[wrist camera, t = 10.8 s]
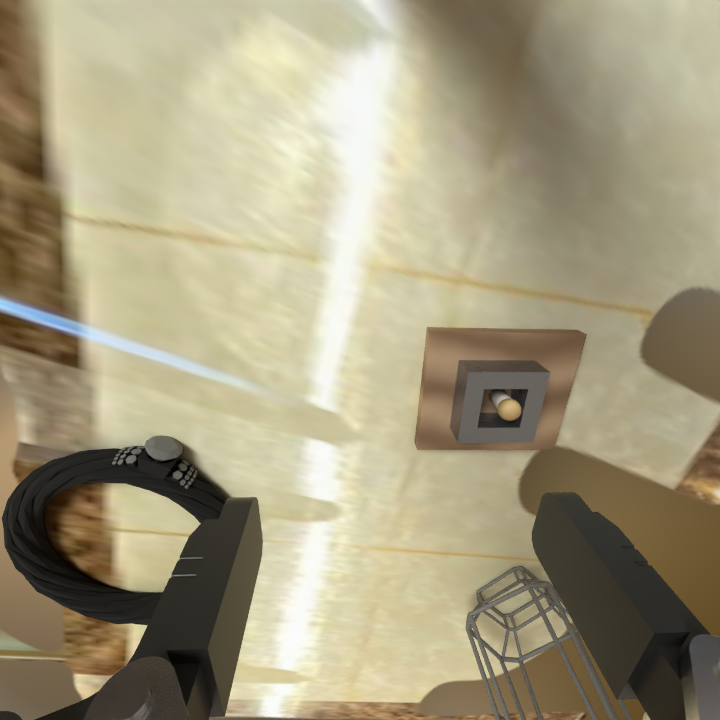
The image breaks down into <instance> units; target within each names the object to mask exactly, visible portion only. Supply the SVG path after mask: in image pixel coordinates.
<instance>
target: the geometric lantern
mask: <svg viewBox="0 0 720 720" xmlns="http://www.w3.org/2000/svg"><path fill="white" fill-rule="evenodd" d="M516 570H520V571H521V573H522V575H523V577H524V579H519V577H518V575H517V573H516ZM512 572H513V573H514V575H515V577H516V579H517V581H516V582H515V583H513V584H511V585H510V586H508V587H506V588H505V589H503V590H501V591H500V592H498V593H496V594H494V595H493V596H491V597H489V598H488V599H486V600H483V599H482V598H481V595H480V592H482V591H483V590H485V589H487V588H488V587H490V586H491V585H493V584H495V583H496V582H498V581H499V580H501V579H502V578H504V577H506V576H507V575H509V574H510V573H512ZM524 572H526V573H527V574H528V575H529V576H530V577H531V578H533V579H534V580H533V579H527V577H526V575H525V573H524ZM525 581H526V582H527V583H526V582H525ZM531 582H533V583H531ZM520 583H523V584H524V586H522V587H520V588H518V589H516V590H514V591H512V592H510V593H508V594H506V595H504V596H502V597H500V598H498V599H496V600H494V601H492V602H490V603H487V602H489V601H491V600H493V599H494V598H496V597H498V596H499V595H501V594H503V593H504V592H506V591H508V590H509V589H511V588H513V587H514V586H516V585H518V584H520ZM541 587H543V588H544V589H545V593H543V592H542V591H541V590H539V589H538V588H541ZM547 587H548V588H549V591H550V593H551V595H552V597H553V598H552V597H551V595H550V593H549V591H548V588H547ZM533 588H534V589H535V590H536V591H538V592H539V593H540V594H541V596H539V597H537V596H536V594H535V592H534V590H533ZM526 590H529V592H530V594H531V596H532V598H533V601H531V602H529V603H528V604H526V605H524V606H523V607H521V608H519V609H518V610H516V611H514V612H513V613H511V614H504V615H503V614H502V613H500V612H499V611H498V610H496V609H495V608H494V607H493V606H495V605H497V604H499V603H501V602H503V601H505V600H507V599H509V598H511V597H513V596H516V595H518V594H520V593H522V592H524V591H526ZM547 595H548V596H549V597H548V596H547ZM544 597H545V598H546V599H547V602H548V604H549V606H550V607H548V608H547V609H545V610H543V608H542V606H541V604H540V602H539V600H540V599H542V598H544ZM553 599H554V600H553ZM477 600H478V604H479V605H478V606H477V607H476V608H475V609H474V610H473V611H471V612H469V613H468V615H467V621H466V631H467V634H468V637H469V640H470V643H471V646H472V649H473V652H474V655H475V658H476V661H477V664H478V667H479V670H480V673H481V676H482V679H483V682H484V685H485V688H486V691H487V694H488V697H489V700H490V703H491V707H492V710H493V713H494V716H495V719H496V720H501V719H500V716H499V713H498V710H497V707H496V704H495V701H494V698H493V695H492V692H491V689H490V686H489V683H488V680H487V677H486V674H485V671H484V669H483V666H482V663H481V660H480V657H479V654H478V651H477V648H476V645H475V642H474V639H473V637H474V638H476V639H477V641H478V644H479V646H480V649H481V652H482V655H483V658H484V661H485V663H486V666H487V669H488V672H489V675H490V678H491V680H492V683H493V686H494V689H495V691H496V694H497V697H498V700H499V703H500V706H501V709H502V711H503V714H504V717H505V720H511V719H510V716H509V714H508V711H507V708H506V705H505V703H504V700H503V697H502V695H501V692H500V689H499V686H498V684H497V681H496V679H495V675H494V673H493V670H492V667H491V664H490V662H489V659H488V656H487V653H486V651H485V648H484V646H485V647H486V648H487V649H488V650H489V651H490V652H491V653H492V654H493V655H495V656H496V657H497V658H498V659H499V660H500V663H501V666H502V668H503V671H504V674H505V676H506V679H507V682H508V685H509V687H510V690H511V693H512V696H513V698H514V701H515V704H516V706H517V709H518V712H519V714H520V717H521V720H526V719H525V716H524V713H523V711H522V709H521V706H520V703H519V700H518V698H517V695H516V692H515V690H514V687H513V684H512V682H511V679H510V677H509V674H508V671H507V668H506V666H505V663H504V661H505V662H516V663H519V664H520V667H521V670H522V673H523V676H524V679H525V682H526V685H527V688H528V691H529V694H530V697H531V699H532V702H533V705H534V708H535V710H536V714H537V717H538V719H539V720H543V718H542V715H541V712H540V710H539V707H538V704H537V701H536V699H535V696H534V693H533V690H532V687H531V685H530V682H529V679H528V676H527V673H526V670H525V668H524V664H523V661H524V660H526V659H528V658H530V657H532V656H534V655H536V654H539V653H541V652H543V651H545V650H547V649H549V648H551V647H553V646H555V645H556V647H557V649H558V651H559V653H560V655H561V657H562V659H563V661H564V663H565V665H566V667H567V669H568V671H569V673H570V675H571V677H572V679H573V681H574V683H575V685H576V688H577V690H578V691H579V694H580V696H581V698H582V700H583V702H584V704H585V706H586V708H587V710H588V712H589V714H590V716H591V718H592V720H598V718H597V716H596V714H595V712H594V710H593V708H592V706H591V704H590V702H589V700H588V698H587V696H586V694H585V692H584V690H583V688H582V686H581V684H580V682H579V680H578V678H577V676H576V674H575V672H574V670H573V668H572V666H571V664H570V662H569V660H568V658H567V656H566V654H565V652H564V650H563V648H562V646H561V644H560V643H561V642H563V641H565V640H567V639H570V638H572V640H573V642H574V644H575V646H576V648H577V651H578V653H579V655H580V657H581V659H582V661H583V664H584V666H585V668H586V670H587V672H588V674H589V676H590V679H591V681H592V682H593V685H594V687H595V689H596V692H597V694H598V696H599V698H600V700H601V702H602V705H603V707H604V709H605V711H606V713H607V715H608V717H609V719H610V720H619V719H618V717H617V715H616V712H615V710H614V708H613V706H612V704H611V702H610V700H609V698H608V696H607V694H606V692H605V689H604V687H603V686H602V683H601V681H600V679H599V677H598V675H597V673H596V671H595V668H594V666H593V664H592V662H591V660H590V658H589V656H588V654H587V652H586V650H585V648H584V645H583V643H582V641H581V639H580V637H579V635H578V633H579V631H578V629H577V627H576V628H574V626H573V625H572V624H571V623H570V622H569V620H568V618H567V616H566V614H565V612H566V613H568V611H567V610H566V609H564V608H563V607H562V606H561V604H560V601H561V602H562V600H561V598H560V597H559V595H558V593H557V591H556V589H555V588H554V587H553V586H552V585H551V584H550V583H549V582H545V581H539V580H538V579H537V578H535V577H534V576H533V575H532V574H531V573H530V572H528V571H527V570H526V569H525V568H524V567H522V566H520V567H515V568H512V569H511V570H509V571H508V572H506V573H504V574H503V575H501V576H500V577H498V578H497V579H495V580H493V581H492V582H490V583H489V584H487V585H486V586H484V587H482V588H481V589H479V590H478V591H477ZM559 600H560V601H559ZM554 601H555V602H554ZM534 603H535V604H536V606H537V608H538V610H539V612H540V613H539V614H537V615H535V616H534V617H532V618H531V619H529V620H527V621H526V622H524V623H522V624H521V625H519V626H518V627H516V625H515V622H514V620H513V617H512V616H514V615H515V614H517V613H519V612H520V611H522V610H524V609H525V608H527V607H529V606H530V605H532V604H534ZM551 603H552V604H551ZM562 603H563V602H562ZM484 604H485V605H484ZM483 605H484V606H483ZM563 605H564V604H563ZM554 606H556V607H557V608H558V610H559V612H560V613H559V612H558V611H557V610H556V609H555V608H554ZM489 608H491V609H492V610H493V611H495V612H496V613H497V614H499V615H500V616H501V617H503V619H504V622H505V625H504V624H503V623H502V622H500V621H499V620H498V619H496V618H495V617H494V616H492V615H491V614H490V613H488V612H487V611H485V610H487V609H489ZM551 609H553V610H554V611H555V612H556V613H557V614H558V615H559V616H560V617H561V618H562V619H563V620H564V623H565V625H566V627H567V629H568V631H569V633H568V634H566V635H564V636H562V637H560V638H557V636H556V634H555V632H554V630H553V628H552V626H551V624H550V622H549V620H548V618H547V616H546V614H545V613H547V612H548V611H550V610H551ZM481 612H484V613H485V614H486V615H488V616H489V617H490V618H492V619H493V620H494V621H496V622H497V623H499V624H500V625H501V626H503V627H504V628H505V629H507V631H506V636H505V642H504V647H503V652H502V656H500V655H499V654H498V653H497V652H496V651H495V650H494V649H493V648H492V647H490V646H489V645H488V644H487V643H486V642H485V641H484V640H483V639H482V638H481V637H480V634H479V632H478V629H477V626H476V623H475V622H476V620H477V618H478V616H479V615H480V613H481ZM568 614H569V613H568ZM474 615H475V617H474V618H473V616H474ZM540 616H542V618H543V620H544V622H545V624H546V626H547V628H548V630H549V632H550V634H551V636H552V638H553V640H554V641H552V642H550V643H548V644H546V645H544V646H541V647H539V648H537V649H535V650H533V651H531V652H529V653H527V654H525V655H523V656H522V654H521V650H520V645H519V641H518V637H517V633H516V631H517V630H519V629H521V628H522V627H524V626H525V625H527V624H529V623H530V622H532V621H534V620H535V619H537V618H538V617H540ZM505 617H510V619H511V621H512V624H513V627H514V628H509V626H508V623H507V621H506V618H505ZM470 623H471V624H470ZM472 627H473V630H474V631H473V630H472ZM573 630H574V631H573ZM509 631H513V632H514V636H515V640H516V644H517V648H518V652H519V656H520V657H519V658H513V657H504V656H505V651H506V646H507V641H508V636H509ZM617 701H618V702H619V705H620V707H621V709H622V711H623V713H624V715H625V717H626V719H627V720H632V718H631V716H630V714H629V712H628V710H627V708H626V706H625V704H624V702H623V700H622V699H621V700H617Z"/></svg>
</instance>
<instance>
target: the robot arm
mask: <svg viewBox="0 0 720 720" xmlns="http://www.w3.org/2000/svg"><path fill="white" fill-rule="evenodd" d="M532 542H533V547H534V550H535V553H536V555H537V557H538V559H539V561H540V563H541V564H542V566H543V568H544V570H545V572H546V573H547V575H548V577H549V579H550V580H551V582H552V584H553V586H554V588H555V589H556V591H557V593H558V595H559V597H560V598H561V600H562V602H563V604H564V606H565V607H566V609H567V611H568V613H569V615H570V616H571V618H572V620H573V622H574V623H575V625H576V627H577V629H578V631H579V633H580V634H581V636H582V638H583V640H584V641H585V643H586V645H587V647H588V649H589V650H590V652H591V654H592V656H593V658H594V659H595V661H596V663H597V665H598V666H599V668H600V670H601V672H602V674H603V676H604V677H605V679H606V681H607V683H608V685H609V686H610V688H611V690H612V692H613V694H614V695H615V697H616V699H617V700H621V699H638V700H639V701H640V703H641V705H642V706H643V708H644V710H645V711H646V712H645V713H644V716H643V720H720V637H717V636H713V635H711V634H710V633H709V632H708V631H707V630H706V629H705V628H704V626H703V625H702V624H701V623H700V622H699V621H698V619H697V618H696V617H695V616H694V615H693V614H692V612H691V611H690V610H689V609H688V608H687V607H686V606H685V604H684V603H683V602H682V601H681V600H680V599H679V597H678V596H677V595H676V594H675V593H674V592H673V590H672V589H671V588H670V587H669V586H668V585H667V583H666V582H665V581H664V580H663V579H662V578H661V576H660V575H659V574H658V573H657V572H656V571H655V570H654V568H653V567H652V566H649V565H648V563H647V561H646V559H645V558H644V557H643V556H642V555H641V554H640V552H639V551H638V550H635V548H634V545H633V544H632V543H631V542H630V540H629V539H628V538H627V537H626V536H625V535H624V534H623V532H622V531H621V530H620V529H619V528H618V527H617V526H616V525H614V524H613V523H612V522H610V521H609V520H608V519H606V518H605V517H604V516H602V515H601V514H600V513H598V512H592V511H591V510H590V508H589V507H588V506H587V505H586V504H585V502H584V501H583V500H582V499H581V498H580V496H579V495H577V494H576V493H573V492H568V493H567V492H563V493H545V494H544V495H543V496H542V499H541V503H540V507H539V510H538V513H537V516H536V520H535V523H534V527H533V530H532ZM262 543H263V540H262V530H261V522H260V514H259V506H258V500H257V498H256V497H247V498H228V499H227V500H226V502H225V504H224V506H223V509H222V511H221V514H220V517H219V519H205V520H204V521H203V522H202V523H201V524H200V525H199V527H198V528H197V529H196V530H195V531H194V532H193V533H192V534H191V535H190V536H189V538H188V540H187V542H186V544H185V547H184V549H183V551H182V553H181V555H180V560H179V561H178V562H177V564H176V566H175V568H174V570H173V572H172V577H171V578H170V579H169V581H168V583H167V585H166V587H165V590H164V592H163V594H162V596H161V598H160V600H159V602H158V605H157V607H156V609H155V611H154V613H153V615H152V617H151V620H150V622H149V624H148V626H147V628H146V630H145V632H144V635H143V637H142V639H141V641H140V643H139V645H138V647H137V649H136V651H135V653H134V655H133V656H132V658H131V659H130V661H129V662H128V664H127V665H126V666H124V667H123V668H122V669H120V670H119V671H118V672H116V673H115V674H114V675H113V676H112V677H111V678H110V679H109V680H108V681H107V682H106V683H105V684H104V685H103V686H102V688H101V689H100V690H99V691H98V692H97V693H95V694H93V695H92V696H90V697H88V698H87V699H84V700H82V701H80V702H78V703H76V704H73V705H70V706H68V707H65V708H63V709H61V710H58V711H55V712H53V713H50V714H48V715H46V716H43V717H40V718H38V719H35V720H209V717H223V716H225V713H226V709H227V704H228V700H229V696H230V691H231V687H232V683H233V678H234V674H235V670H236V665H237V661H238V657H239V653H240V648H241V644H242V640H243V635H244V631H245V627H246V622H247V618H248V614H249V609H250V605H251V601H252V596H253V592H254V588H255V583H256V579H257V575H258V571H259V566H260V562H261V556H262ZM0 720H22V719H21V717H20V716H19V715H17V714H16V713H14V712H9V711H0Z"/></svg>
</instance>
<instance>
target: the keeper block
mask: <svg viewBox="0 0 720 720" xmlns="http://www.w3.org/2000/svg"><path fill="white" fill-rule="evenodd" d="M585 339H586V334H584V333H582V332H580V331H578V330H543V329H489V328H436V327H427V334H426V343H425V352H424V361H423V370H422V380H421V389H420V398H419V407H418V416H417V426H416V435H415V444H416V447H417V450H546V449H547V450H548V449H549V450H553V449H554V447H555V443H556V440H557V436H558V433H559V429H560V426H561V422H562V419H563V415H564V412H565V408H566V405H567V401H568V398H569V394H570V391H571V387H572V384H573V380H574V377H575V373H576V370H577V367H578V363H579V360H580V356H581V353H582V349H583V346H584V342H585ZM459 360H535V361H536V362H538V363H539V364H540V365H542V366H543V367H544V368H546V369H547V370H548V371H550V372H551V373H550V377H549V381H548V385H547V389H546V393H545V397H544V401H543V405H542V409H541V413H540V417H539V421H538V425H537V429H536V433H535V437H534V442H509V443H458V442H457V441H456V439H455V437H454V435H453V433H452V431H451V429H450V420H451V413H452V406H453V398H454V391H455V384H456V377H457V369H458V362H459ZM511 391H512V389H484V393H483V399H482V404H481V410H480V413H498V414H499V415H500V417H501V418H503V419H504V420H508V421H512V420H515V419H517V418H518V417H519V416H520V414H521V406H520V404H519V403H518V402H517V401H516V400H514V399H512V398H511V397H510V396H511Z"/></svg>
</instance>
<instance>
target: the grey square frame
mask: <svg viewBox="0 0 720 720" xmlns="http://www.w3.org/2000/svg"><path fill="white" fill-rule="evenodd" d="M550 373H551V372H550V371H548V370H547V369H546V368H544V367H543V366H542V365H540V364H539V363H538V362H536V361H535V360H459V362H458V369H457V377H456V384H455V391H454V398H453V406H452V413H451V420H450V429H451V431H452V433H453V435H454V437H455V439H456V441H457V442H458V443H509V442H534V437H535V433H536V429H537V425H538V421H539V417H540V413H541V409H542V405H543V401H544V397H545V393H546V389H547V385H548V381H549V377H550ZM484 389H512V391H511V396H510V397H511V398H512V399H514V400H516V401H517V402H518V403H519V404H520V406H521V414H520V416H519V417H518V418H517V419H515V420H512V421H508V420H504V419H503V418H501V417H500V415H499V414H498V413H480V410H481V404H482V399H483V393H484Z"/></svg>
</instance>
